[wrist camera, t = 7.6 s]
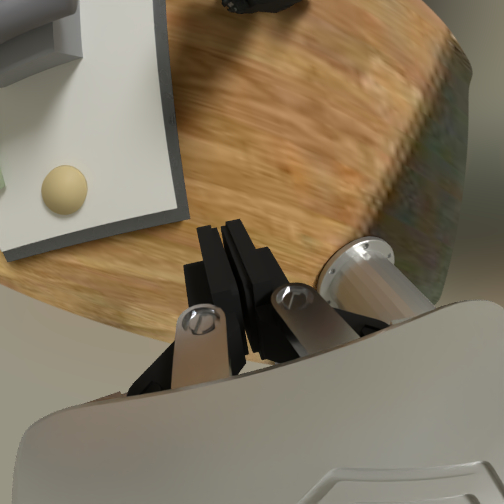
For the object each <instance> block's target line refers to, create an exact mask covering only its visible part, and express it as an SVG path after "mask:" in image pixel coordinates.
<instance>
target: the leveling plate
mask: <svg viewBox="0 0 504 504" xmlns="http://www.w3.org/2000/svg"><path fill="white" fill-rule="evenodd" d="M176 208H177V204H176V198H175V192H174V186H173V180H172V174H171V168H170V162H169V155H168V148H167V141H166V134H165V127H164V119H163V112H162V104H161V95H160V86H159V77H158V67H157V56H156V45H155V32H154V17H153V0H0V249H1V251H2V252H3V251H6V250H10V249H13V248H17V247H20V246H23V245H27V244H30V243H34V242H38V241H41V240H45V239H48V238H52V237H56V236H60V235H63V234H67V233H71V232H75V231H79V230H83V229H87V228H91V227H95V226H99V225H103V224H107V223H112V222H116V221H120V220H125V219H129V218H133V217H138V216H142V215H147V214H152V213H156V212H161V211H166V210H171V209H176Z"/></svg>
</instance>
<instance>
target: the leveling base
mask: <svg viewBox="0 0 504 504" xmlns="http://www.w3.org/2000/svg"><path fill="white" fill-rule="evenodd" d="M153 17H154V32H155V45H156V56H157V67H158V77H159V86H160V95H161V104H162V112H163V119H164V127H165V134H166V141H167V148H168V155H169V162H170V168H171V174H172V180H173V186H174V192H175V198H176V204H177V208H176V209H171V210H166V211H161V212H156V213H152V214H147V215H142V216H138V217H133V218H129V219H125V220H120V221H116V222H112V223H107V224H103V225H99V226H95V227H91V228H87V229H83V230H79V231H75V232H71V233H67V234H63V235H60V236H56V237H52V238H48V239H45V240H41V241H38V242H34V243H30V244H27V245H23V246H20V247H17V248H13V249H10V250H6V251H3V254H4V256H5V258H6V260H7V262H11V261H14V260H18V259H21V258H25V257H29V256H32V255H36V254H40V253H44V252H48V251H51V250H55V249H59V248H63V247H67V246H71V245H75V244H79V243H83V242H87V241H92V240H96V239H100V238H104V237H109V236H113V235H117V234H122V233H126V232H130V231H135V230H139V229H144V228H149V227H153V226H158V225H163V224H167V223H172V222H177V221H182V220H187V219H190V215H189V208H188V202H187V196H186V189H185V183H184V176H183V169H182V162H181V155H180V148H179V140H178V133H177V125H176V116H175V108H174V99H173V90H172V80H171V70H170V59H169V47H168V34H167V19H166V2H165V0H153Z"/></svg>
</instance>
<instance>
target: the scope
mask: <svg viewBox="0 0 504 504" xmlns="http://www.w3.org/2000/svg"><path fill="white" fill-rule="evenodd" d="M300 1H302V0H222V5H223V6H224V7H225V6H227V7H228V8H229V9H228V11H230V12H233V13H238V14H243V13H255V12H258V11H259V12H271V13H277V12H279V11H282V10H284V9H286V8H289V7H290V6H292V5H293V4H295V3H297V2H300Z"/></svg>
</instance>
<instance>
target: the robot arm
mask: <svg viewBox="0 0 504 504" xmlns="http://www.w3.org/2000/svg"><path fill="white" fill-rule="evenodd" d="M221 232H222V238H223V244H224V247H223V244H222V241H221V238H220V236H219V233H218V230H217V227H216V228H211V225H208V226H203V227H198V228H197V233H198V238H199V243H200V248H201V252H202V257H203V261H200V262H195V263H191V264H186V265H183V266H184V275H185V283H186V290H187V297H188V304H189V308H188V309H186V310H185V311H184V312H182V314H181V315H180V316H179V318H178V321H177V325H176V335H175V341H174V342H173V343H172V344H171V345H170V346H169V347H168V348H167V349H166V350H165V351H164V352H163V353H162V354H161V356H159V358H157V360H156V361H155V362H154V363H153V364H152V365H151V366H150V367H149V368H148V369H147V370H146V371H145V372H144V373H143V374H142V375H141V376H140V377H139V378H138V379H137V380H136V381H135V382H134V383H133V385H132V386H131V387H130V389H129V391H128V392H127V393H125V394H121V393H120V392H117V393H114V394H111V395H108V396H105V397H102V398H99V399H96V400H93V401H90V402H87V403H84V404H81V405H76V406H71V407H68V408H65V409H62V410H59V411H56V412H54V413H51V414H49V415H47V416H45V417H43V418H41V419H39V420H38V421H36V422H35V423H34V424H32V425H31V426H30V427H29V428H28V429H27V430H26V431H25V433H24V435H23V437H22V439H21V442H20V444H19V448H18V451H17V456H16V461H15V467H14V475H13V488H12V504H504V308H502V307H501V306H499V305H498V304H496V303H494V302H491V301H487V300H465V301H460V302H455V303H451V304H448V305H444V306H441V307H438V308H436V307H435V306H434V305H433V304H432V303H431V302H430V301H429V300H428V299H427V298H426V297H425V296H424V295H423V294H422V293H421V292H420V291H419V290H418V289H417V288H416V287H415V286H414V285H413V284H412V283H411V282H410V281H409V280H408V279H407V278H406V277H405V276H404V275H403V274H402V273H401V272H400V271H399V270H398V269H397V268H396V267H395V266H394V254H393V250H392V249H391V247H390V246H389V245H388V244H387V243H386V242H385V241H384V240H382V239H381V238H377V237H363V238H360V239H357V240H354V241H352V242H351V243H349V244H347V245H345V246H344V247H343V248H341V249H340V250H339V251H338V252H337V253H336V254H335V255H334V256H333V257H332V258H331V259H330V260H329V261H328V263H327V264H326V265H325V267H324V269H323V271H322V272H321V275H320V277H319V280H318V285H317V291H316V290H315V289H314V288H312V287H311V286H309V285H306V284H303V283H289V281H288V280H287V278H286V276H285V274H284V273H283V271H282V269H281V268H280V266H279V264H278V263H277V261H276V259H275V258H274V256H273V254H272V253H271V251H270V249H269V248H268V247H264V248H259V249H255V247H254V245H253V243H252V241H251V239H250V237H249V235H248V233H247V231H246V229H245V228H244V226H243V224H242V222H241V220H240V219H237V220H232V221H227V222H226V226H221ZM245 331H246V334H247V337H248V340H249V343H250V346H251V348H252V351H253V353H256V352H259V354H260V357H261V360H264V359H268V360H271V361H274V362H275V365H273V366H270V367H266V368H263V369H259V370H255V371H251V372H247V373H243V374H240V375H238V373H239V372H240V370H241V369H242V368H243V366H244V365H245V364H246V359H245V355H248V354H249V352H248V346H247V340H246V334H245Z"/></svg>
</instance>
